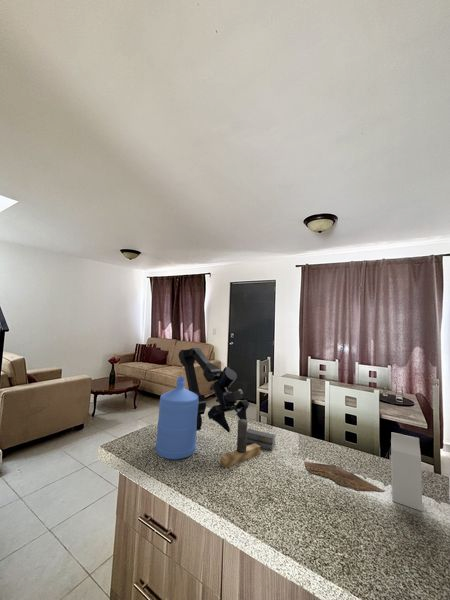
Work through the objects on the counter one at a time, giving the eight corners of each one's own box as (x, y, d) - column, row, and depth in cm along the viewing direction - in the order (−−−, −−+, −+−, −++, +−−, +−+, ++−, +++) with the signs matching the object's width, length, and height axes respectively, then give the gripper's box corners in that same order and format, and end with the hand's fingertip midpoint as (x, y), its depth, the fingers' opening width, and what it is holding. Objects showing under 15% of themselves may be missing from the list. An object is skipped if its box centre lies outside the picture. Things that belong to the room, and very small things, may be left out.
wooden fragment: (298, 469, 90) (298, 466, 90) (308, 458, 99) (308, 455, 99) (382, 503, 75) (382, 500, 75) (385, 486, 83) (385, 483, 83)
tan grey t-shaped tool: (225, 468, 88) (228, 427, 90) (219, 463, 91) (221, 423, 92) (260, 454, 99) (261, 417, 101) (254, 450, 102) (255, 415, 104)
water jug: (184, 464, 89) (189, 384, 92) (147, 455, 94) (153, 379, 97) (201, 445, 104) (206, 376, 107) (168, 438, 109) (173, 372, 112)
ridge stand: (244, 443, 108) (244, 432, 108) (248, 438, 113) (249, 427, 114) (271, 450, 103) (272, 439, 103) (275, 444, 108) (275, 433, 109)
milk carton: (422, 512, 71) (420, 442, 73) (392, 501, 75) (391, 435, 77) (419, 498, 77) (417, 434, 79) (391, 489, 81) (390, 428, 83)
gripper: (213, 385, 98) (230, 423, 88) (247, 380, 110) (265, 414, 100) (201, 400, 104) (215, 438, 94) (234, 394, 115) (250, 428, 105)
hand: (238, 429), depth 98 cm, fingers open, 9 cm apart
